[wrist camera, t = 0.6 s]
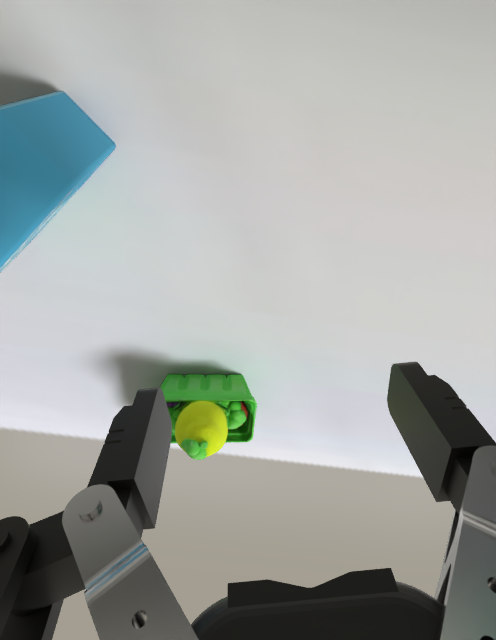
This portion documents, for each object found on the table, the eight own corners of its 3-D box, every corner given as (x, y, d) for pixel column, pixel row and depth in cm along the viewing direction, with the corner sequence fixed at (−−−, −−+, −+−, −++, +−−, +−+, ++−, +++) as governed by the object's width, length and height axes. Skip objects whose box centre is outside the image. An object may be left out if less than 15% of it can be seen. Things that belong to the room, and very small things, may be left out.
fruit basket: (160, 409, 45) (146, 497, 36) (154, 358, 40) (135, 446, 31) (249, 408, 46) (257, 493, 37) (254, 358, 41) (265, 444, 32)
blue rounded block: (32, 240, 31) (-51, 324, 21) (-21, 201, 29) (-140, 275, 19) (121, 141, 27) (68, 191, 17) (68, 86, 25) (-28, 109, 15)
